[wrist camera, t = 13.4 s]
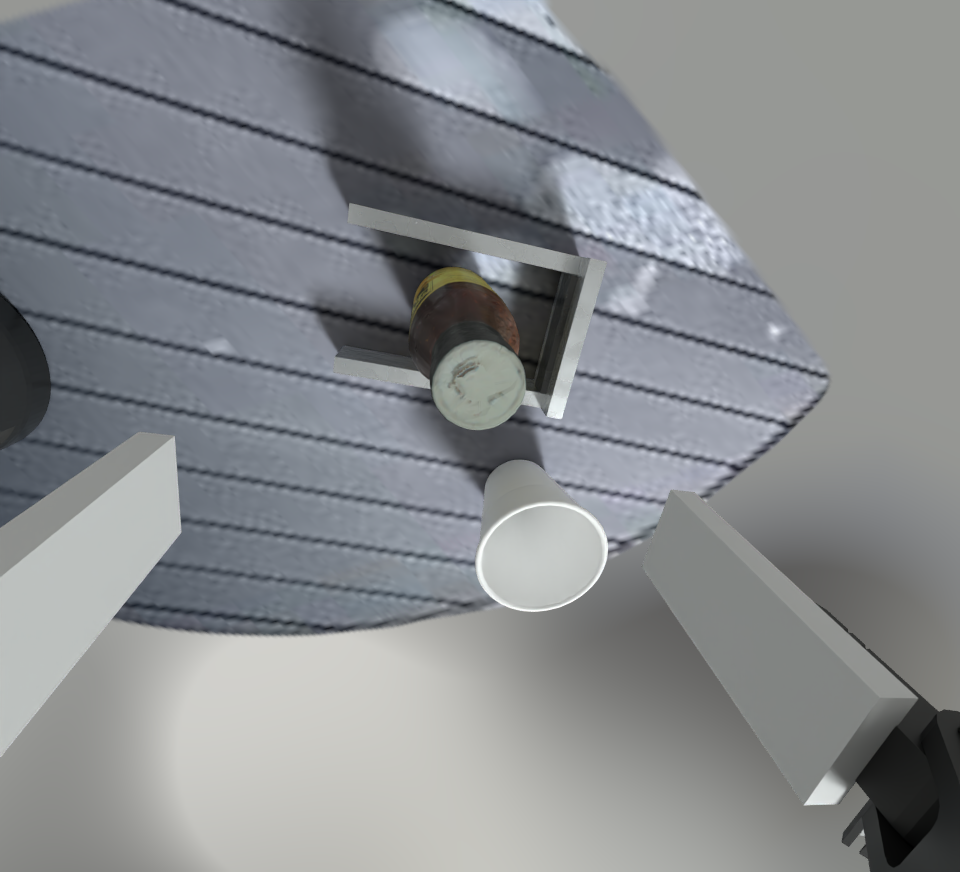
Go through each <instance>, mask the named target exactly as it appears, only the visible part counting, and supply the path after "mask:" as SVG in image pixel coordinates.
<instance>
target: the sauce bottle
mask: <svg viewBox="0 0 960 872" xmlns="http://www.w3.org/2000/svg"><path fill="white" fill-rule="evenodd" d="M519 339H520V336H519V334H518V329H517V326H516V322H515V321H514V318H513V316H512V314H511V313H510V311H509V309H508V308H507V306H506V304H505V303H504V302H503V300H502V299H501V298H500V297H499V296H498V295H497V294H496V293H495V292H494V291H493V290H492V289H491V287H490V286H489V285H488V284H487V283H486V282H485V281H484V280H483V279H482V278H481V277H480V276H478V275H477V274H475V273H474V272H472V271H470V270H467V269H464V268H461V267H445V268H442V269H439V270H437V271H434V272H433V273H431V274H430V275H429V276H427V277H426V278H425V279H424V280H423V281H422V282H421V284H420V285H419V287H418V289H417V291H416V294H415V297H414V302H413V308H412V314H411V320H410V331H409V349H410V353H411V357H412V359H413V362H414V364H415V366H416V367H417V369H418V370H419V371H420V372H421V374H422V375H423V376H424V377H426V378H427V379H428V380H430V388H431V394H432V398H433V400H434V402H435V404H436V407H437V408H438V410H439V411H440V413H441V414H442V415H443V416H444V417H445V418H446V419H447V420H448V421H450V422H451V423H453V424H455V425H458V426H460V427H462V428H466V429H471V430H484V429H490V428H493V427H496V426H498V425H500V424H502V423H504V422H505V421H507V420H508V419H509V418H510V417H511V416H512V415H513V414H515V413H516V411H517V409H518V408H519V407H520V405H521V403H522V401H523V399H524V395H525V392H526V375H525V370H524V367H523V364H522V362H521V360H520V359H519V357H518V351H519Z"/></svg>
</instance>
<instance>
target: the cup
mask: <svg viewBox="0 0 960 872" xmlns="http://www.w3.org/2000/svg"><path fill="white" fill-rule="evenodd" d="M607 553H608V544H607V537H606V534H605V532H604V529H603V527H602V525H601V524H600V523H599V521H598V520H597V518H596V517H595V516H593V515H592V514H591V513H590V512H589V511H588V510H586V509H584V508H582V507H581V506H579V505H578V504H577V503H576V502H575V501H574V500H573V499H572V498H571V497H570V496H569V495H568V494H567V493H566V492H565V491H564V490H563V489H562V488H561V487H560V486H559V485H558V484H557V483H556V482H555V481H554V480H553V479H552V478H551V477H550V476H549V475H548V474H547V473H546V472H545V471H544V470H543V469H542V468H541V467H540V466H539V465H537V464H535V463H534V462H531V461H528V460H512V461H508V462H506V463H503V464H501V465H500V466H498V467H497V468H496V469H495V470H494V471H493V472H492V473H491V474H490V476H489V477H488V479H487V481H486V484H485V490H484V502H483V513H482V523H481V532H480V542H479V545H478V547H477V551H476V556H475V569H476V573H477V577H478V580H479V582H480V584H481V585H482V587H483V589H484V590H485V591H486V592H487V593H488V594H489V595H490V596H491V598H493V599H494V600H496V601H497V602H499V603H500V604H502V605H505V606H507V607H509V608H513V609H516V610H521V611H533V612H534V611H535V612H536V611H546V610H551V609H555V608H558V607H561V606H563V605H566V604H568V603H571V602H572V601H574V600H575V599H577V598H579V597H580V596H582V595H583V594H584V593H585V592H586V591H588V590H589V589H590V588H591V587H592V586H593V584H594V583H595V582H596V581H597V579H598V578H599V576H600V575H601V573H602V571H603V569H604V566H605V563H606V560H607Z"/></svg>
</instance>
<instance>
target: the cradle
mask: <svg viewBox="0 0 960 872" xmlns="http://www.w3.org/2000/svg"><path fill="white" fill-rule="evenodd" d="M348 223H350V224H354V225H358V226H363V227H367V228H372V229H376V230H381V231H385V232H389V233H394V234H398V235H403V236H407V237H411V238H416V239H420V240H425V241H429V242H434V243H438V244H442V245H447V246H451V247H456V248H460V249H465V250H469V251H473V252H478V253H482V254H487V255H491V256H495V257H500V258H504V259H509V260H513V261H518V262H522V263H526V264H531V265H535V266H540V267H544V268H548V269H553V270H557V271H562V272H561V276H560V280H559V284H558V288H557V292H556V296H555V299H554V303H553V307H552V311H551V315H550V319H549V323H548V326H547V330H546V334H545V338H544V342H543V346H542V350H541V353H540V357H539V361H538V365H537V369H536V373H535V377H534V380H533V379H527V378H526V392H525V395H524V399H523V401H522V403H521V405H527V406H532V407H538V408H541V409H542V411H543V412H544V414H545V415H546V417H552V418H558V419H562V415H563V412H564V409H565V405H566V402H567V398H568V395H569V391H570V388H571V385H572V381H573V378H574V374H575V371H576V367H577V364H578V361H579V357H580V354H581V350H582V347H583V343H584V340H585V337H586V333H587V330H588V326H589V323H590V319H591V316H592V313H593V309H594V306H595V302H596V299H597V295H598V292H599V288H600V285H601V282H602V278H603V275H604V271H605V268H606V264H607V262H605V261H601V260H597V259H592V258H585V257H579V256H574V255H570V254H566V253H561V252H557V251H553V250H549V249H544V248H540V247H536V246H531V245H527V244H523V243H519V242H514V241H510V240H506V239H502V238H497V237H493V236H489V235H484V234H480V233H476V232H472V231H467V230H463V229H459V228H454V227H450V226H446V225H442V224H437V223H433V222H429V221H425V220H420V219H416V218H412V217H407V216H403V215H399V214H395V213H390V212H386V211H382V210H377V209H373V208H369V207H365V206H360V205H356V204H352V203H349V213H348ZM333 373H339V374H345V375H351V376H357V377H363V378H368V379H374V380H380V381H386V382H392V383H398V384H404V385H409V386H415V387H421V388H427V389H431V388H430V380H428V379H427V378H426V377H424V376H423V375H422V374H421V372H420V371H419V370H418V369H417V367H416V366H415V364H414V362H413V359H412V358H411V357H406V356H400V355H395V354H389V353H384V352H378V351H373V350H367V349H362V348H356V347H351V346H345V345H344V346H343V347H342V348H341V350H340V351H339V352H338V353H337V355H336V356H335V360H334V370H333Z"/></svg>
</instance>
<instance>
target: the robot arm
mask: <svg viewBox="0 0 960 872" xmlns="http://www.w3.org/2000/svg"><path fill="white" fill-rule="evenodd" d="M50 391H51V383H50V374H49V369H48V365H47V362H46V359H45V356H44V353H43V351H42V349H41V347H40V345H39V343H38V341H37V339H36V337H35V336H34V334H33V332H32V331H31V330H30V328H29V327H28V325H27V324H26V323H25V321H24V320H23V319H22V318H21V316H20V315H19V314H18V313H17V312H16V311H15V310H14V309H13V308H12V307H11V306H10V304H8V303H7V302H6V301H5V300H4V299H3V298H2V297H1V296H0V450H2V449H4V448H6V447H8V446H10V445H12V444H14V443H16V442H18V441H20V440H22V439H23V438H25V437H26V436H27V435H29V434H30V433H31V432H32V431H33V430H34V429H35V428H36V427H37V426H38V425H39V423H40V422H41V420H42V419H43V417H44V415H45V413H46V410H47V407H48V404H49V399H50ZM180 534H181V521H180V507H179V492H178V478H177V464H176V449H175V436H172V435H163V434H153V433H144V432H138V433H137V434H135V435H134V436H132V437H131V438H129V439H128V440H127V441H125V442H124V443H122V444H121V445H119V446H118V447H116V448H115V449H114V450H112V451H111V452H109V453H108V454H106V455H105V456H103V457H102V458H101V459H99V460H98V461H96V462H95V463H93V464H92V465H91V466H89V467H88V468H86V469H85V470H83V471H82V472H80V473H79V474H78V475H76V476H75V477H73V478H72V479H70V480H69V481H67V482H66V483H65V484H63V485H62V486H60V487H59V488H57V489H56V490H55V491H53V492H52V493H50V494H49V495H47V496H46V497H44V498H43V499H42V500H40V501H39V502H37V503H36V504H34V505H33V506H31V507H30V508H29V509H27V510H26V511H24V512H23V513H21V514H20V515H18V516H17V517H16V518H14V519H13V520H11V521H10V522H8V523H7V524H6V525H4V526H3V527H1V528H0V757H1V756H2V755H3V754H4V752H5V751H6V750H7V749H8V747H9V746H10V745H11V744H12V742H13V741H14V740H15V739H16V737H17V736H18V735H19V734H20V732H21V731H22V730H23V729H24V727H25V726H26V725H27V724H28V722H29V721H30V720H31V719H32V718H33V716H34V715H35V713H37V711H38V710H39V709H40V708H41V706H42V705H43V704H44V703H45V701H46V700H47V699H48V698H49V696H50V695H51V694H52V693H53V691H54V690H55V689H56V688H57V686H58V685H59V684H60V683H61V681H62V680H63V679H64V678H65V676H66V675H67V674H68V673H69V671H70V670H71V669H72V668H73V667H74V665H75V664H76V663H77V662H78V660H79V659H80V658H81V657H82V655H83V654H84V653H85V652H86V650H87V649H88V648H89V647H90V645H91V644H92V643H93V642H94V640H95V639H96V638H97V637H98V635H99V634H100V633H101V632H102V630H103V629H104V628H105V627H106V626H107V624H108V623H109V622H110V621H111V619H112V618H113V617H114V616H115V614H116V613H117V612H118V611H119V609H120V608H121V607H122V606H123V604H124V603H125V602H126V601H127V599H128V598H129V597H130V596H131V594H132V593H133V592H134V591H135V589H136V588H137V587H138V586H139V584H140V583H141V582H142V581H143V580H144V578H145V577H146V576H147V575H148V573H149V572H150V571H151V570H152V568H153V567H154V566H155V565H156V563H157V562H158V561H159V560H160V558H161V557H162V556H163V555H164V553H165V552H166V551H167V550H168V548H169V547H170V546H171V545H172V543H173V542H174V541H175V540H176V538H177V537H178V536H179V535H180ZM642 568H643V569H644V571H645V572H646V574H647V575H648V577H649V578H650V580H651V581H652V583H653V584H654V586H655V587H656V588H657V590H658V591H659V593H660V594H661V596H662V597H663V599H664V600H665V602H666V603H667V605H668V606H669V608H670V609H671V611H672V612H673V614H674V615H675V616H676V618H677V619H678V621H679V622H680V624H681V625H682V627H683V628H684V630H685V631H686V633H687V634H688V636H689V637H690V639H691V640H692V641H693V643H694V644H695V646H696V647H697V649H698V650H699V652H700V653H701V655H702V656H703V658H704V659H705V660H706V662H707V664H708V665H709V666H710V668H711V669H712V671H713V672H714V674H715V675H716V677H717V678H718V680H719V681H720V683H721V684H722V686H723V687H724V688H725V690H726V691H727V693H728V694H729V696H730V697H731V699H732V700H733V702H734V703H735V705H736V706H737V708H738V709H739V711H740V712H741V713H742V715H743V716H744V718H745V719H746V721H747V722H748V724H749V725H750V727H751V728H752V730H753V731H754V733H755V734H756V736H757V737H758V739H759V740H760V741H761V743H762V744H763V746H764V747H765V749H766V750H767V752H768V753H769V755H770V756H771V758H772V759H773V761H774V762H775V763H776V765H777V766H778V768H779V769H780V771H781V772H782V774H783V775H784V777H785V778H786V780H787V781H788V783H789V784H790V786H791V787H792V788H793V790H794V791H795V793H796V794H797V796H798V797H799V799H800V800H801V802H802V803H803V805H824V804H840V802H841V801H842V800H843V798H844V797H845V796H846V794H847V793H848V792H849V790H850V789H851V788H852V786H853V785H854V784H855V782H857V783H858V784H859V786H860V787H861V788H862V790H863V791H864V792H865V793H866V794H867V796H868V797H869V798H870V799H869V800H868V802H867V803H866V804H865V806H864V807H863V808H862V809H861V810H860V812H859V813H858V814H857V816H856V817H855V818H854V819H853V821H852V822H851V823H850V825H849V826H848V827H847V828H846V830H845V831H844V832H843V838H842V843H844V844H845V845H847V846H848V847H849V846H850V845H851V843H852V842H853V841H854V840H855V839H856V837H857V836H858V835H862V836H865V841H866V845H865V846H864V847H863V848H862V849H861V851H860V854H861V855H863V856H865V857H866V858H867V859H868V861H869V867H870V872H960V712H958V711H951V710H942V711H940V712H939V711H937V710H936V709H935V708H934V707H933V706H932V705H930V704H929V703H928V702H927V701H926V700H925V699H924V698H923V697H922V696H921V695H920V694H918V693H917V692H916V691H915V690H914V689H913V688H912V687H911V686H910V685H909V684H907V683H906V682H905V681H904V680H903V679H902V678H901V677H899V675H897V674H896V673H895V672H894V671H893V670H892V669H891V668H890V667H889V666H888V665H887V664H886V663H884V662H883V661H882V660H881V659H880V658H879V657H878V656H876V655H875V653H873V652H872V651H871V650H870V649H866V648H865V644H864V643H862V642H861V641H860V640H859V639H858V638H857V637H856V636H855V635H854V634H853V633H848V629H847V628H846V627H845V626H844V625H843V624H842V623H840V622H839V621H838V620H837V619H836V618H835V617H834V616H832V615H831V613H829V612H828V611H827V610H826V609H824V608H823V607H821V606H820V605H818V604H817V603H815V602H814V601H812V600H811V599H810V598H809V597H808V596H806V594H804V593H803V592H802V591H801V590H800V589H799V588H798V587H797V586H796V585H795V584H794V583H793V582H791V581H790V580H789V579H788V578H787V577H786V576H785V575H784V574H783V573H782V572H781V571H779V570H778V569H777V568H776V567H775V566H774V565H773V564H772V563H771V562H770V561H769V560H767V559H766V558H765V557H764V556H763V555H762V554H761V553H760V552H759V551H758V550H757V549H756V548H754V547H753V546H752V545H751V544H750V543H749V542H748V541H747V540H746V539H745V538H743V537H742V536H741V535H740V534H739V533H738V532H737V531H736V530H735V529H734V528H733V527H732V526H730V525H729V524H728V523H727V522H726V521H725V520H724V519H723V518H722V517H721V516H720V515H719V514H718V513H716V512H715V511H714V510H713V509H712V508H711V507H710V506H709V505H708V504H707V503H706V502H704V501H703V500H702V499H701V498H700V497H699V496H698V495H697V494H696V493H695V492H687V491H678V490H671V491H670V493H669V496H668V499H667V501H666V504H665V507H664V509H663V512H662V514H661V517H660V520H659V522H658V525H657V528H656V530H655V533H654V535H653V538H652V541H651V543H650V546H649V549H648V551H647V554H646V556H645V559H644V562H643V564H642Z"/></svg>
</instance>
